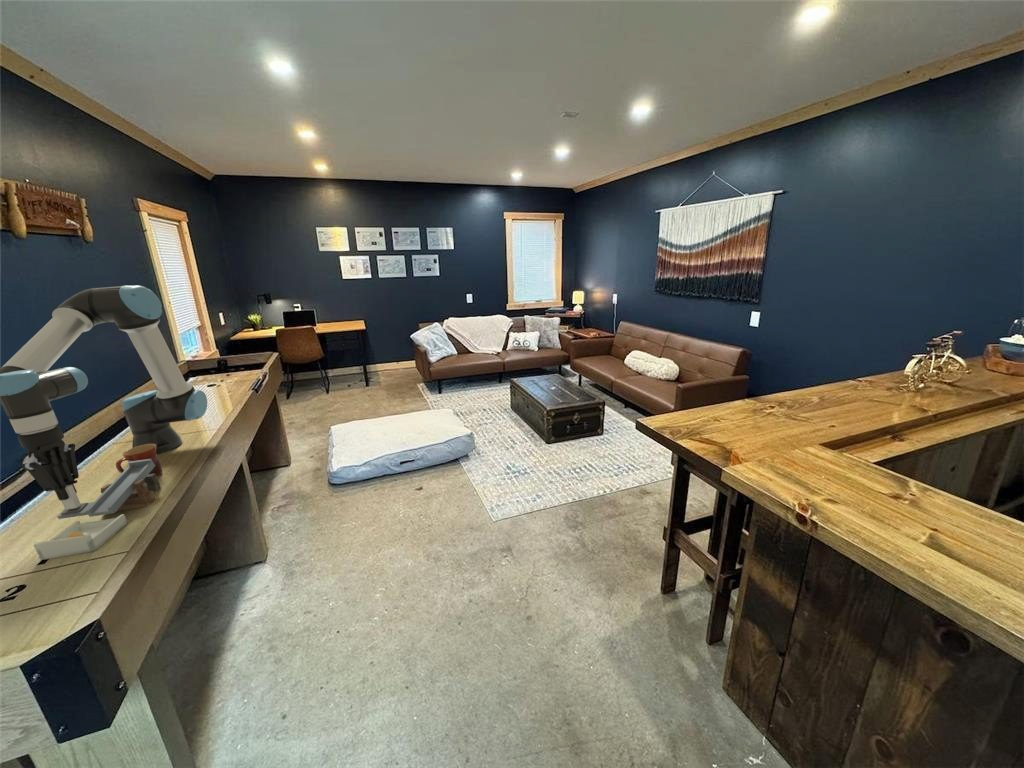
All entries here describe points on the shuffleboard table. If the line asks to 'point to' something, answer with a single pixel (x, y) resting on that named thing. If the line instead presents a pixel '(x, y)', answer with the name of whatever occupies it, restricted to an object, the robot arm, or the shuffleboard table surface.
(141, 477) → the lever
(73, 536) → the ball
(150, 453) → the mug
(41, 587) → the shuffleboard table surface
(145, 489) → the fulcrum
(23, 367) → the robot arm
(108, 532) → the tray
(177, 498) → the shuffleboard table surface
